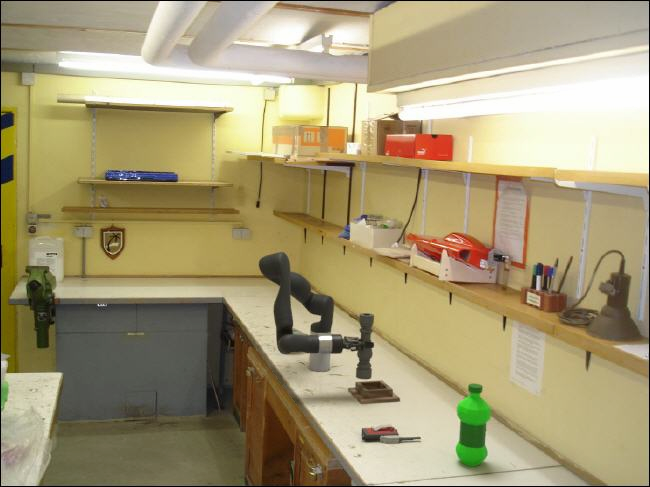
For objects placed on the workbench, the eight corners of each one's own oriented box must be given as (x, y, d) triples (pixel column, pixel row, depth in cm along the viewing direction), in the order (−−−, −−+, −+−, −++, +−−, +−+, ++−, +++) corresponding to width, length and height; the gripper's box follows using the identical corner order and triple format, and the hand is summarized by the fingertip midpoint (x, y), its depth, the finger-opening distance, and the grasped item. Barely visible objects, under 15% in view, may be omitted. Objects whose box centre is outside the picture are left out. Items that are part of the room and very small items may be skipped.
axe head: (274, 342, 366) (274, 322, 365) (292, 341, 370) (293, 321, 368) (290, 356, 341) (291, 336, 340) (309, 355, 344) (310, 334, 343)
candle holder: (362, 373, 291) (365, 312, 288) (374, 377, 287) (378, 314, 284) (352, 376, 287) (355, 314, 284) (365, 380, 283) (368, 317, 280)
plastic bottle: (455, 454, 236) (460, 378, 233) (489, 459, 233) (494, 383, 230) (451, 466, 226) (456, 388, 223) (486, 471, 223) (491, 392, 220)
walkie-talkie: (363, 445, 241) (421, 443, 245) (363, 432, 241) (422, 430, 244) (357, 435, 250) (413, 433, 253) (358, 423, 249) (414, 421, 253)
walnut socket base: (348, 390, 295) (348, 380, 295) (385, 388, 300) (385, 378, 299) (361, 403, 280) (361, 393, 280) (399, 401, 285) (400, 390, 284)
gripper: (333, 339, 275) (377, 338, 279) (326, 330, 289) (368, 329, 292) (332, 358, 276) (376, 357, 280) (325, 348, 290) (367, 347, 293)
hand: (372, 343), depth 286 cm, fingers closed on candle holder, 3 cm apart
